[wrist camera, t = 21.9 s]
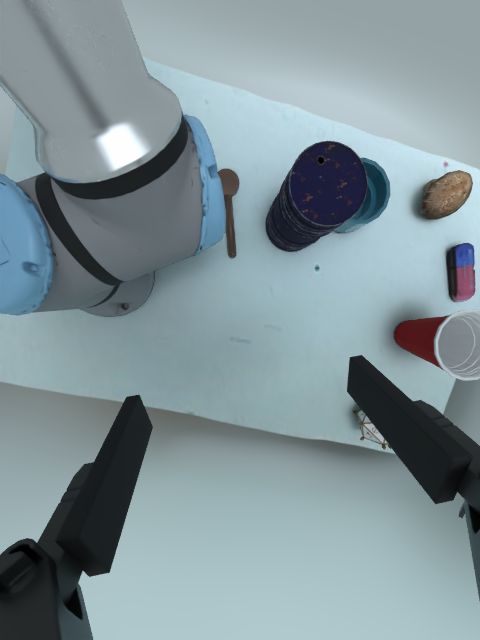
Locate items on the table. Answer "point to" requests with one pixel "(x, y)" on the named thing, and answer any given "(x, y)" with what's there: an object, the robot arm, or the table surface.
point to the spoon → (229, 205)
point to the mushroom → (446, 194)
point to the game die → (370, 430)
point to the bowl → (370, 198)
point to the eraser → (461, 272)
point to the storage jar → (317, 195)
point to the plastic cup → (445, 342)
